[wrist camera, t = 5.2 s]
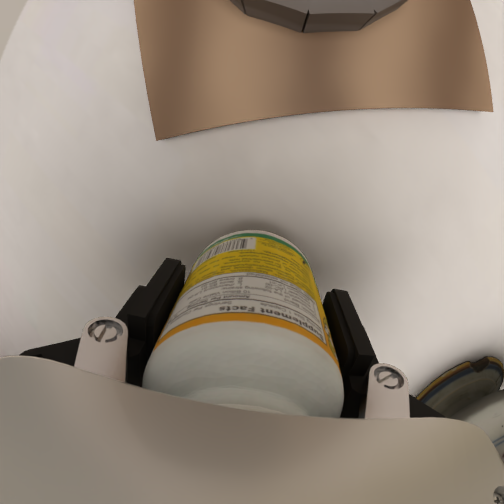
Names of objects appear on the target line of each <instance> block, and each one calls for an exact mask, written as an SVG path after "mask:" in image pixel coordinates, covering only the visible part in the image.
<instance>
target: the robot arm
mask: <svg viewBox="0 0 504 504" xmlns="http://www.w3.org/2000/svg"><path fill="white" fill-rule="evenodd" d="M185 268H186V267H185V265H181V261H180V260H175V259H170V258H166V259H165V261H164V262H163V264H162V265H161V266H160V268H159V269H158V270H157V272H156V273H155V275H154V276H153V277H152V279H151V280H150V282H149V283H148V284H147V286H141V285H140V286H138V287H137V289H136V290H135V291H134V293H133V294H132V295H131V297H130V298H129V300H128V301H127V302H126V304H125V305H124V306H123V308H122V309H121V311H120V312H119V313H118V315H117V316H116V318H113V317H98V318H94V319H92V320H90V321H89V322H88V323H86V324H85V326H84V328H83V331H82V335H81V338H78V339H74V340H70V341H65V342H61V343H57V344H52V345H48V346H43V347H39V348H34V349H30V350H27V351H25V352H23V353H21V354H20V355H19V356H5V357H1V358H0V504H504V463H503V461H502V459H501V457H500V455H499V453H498V452H497V450H496V448H495V446H494V445H493V443H492V442H491V440H490V439H489V437H488V436H487V434H486V433H485V432H484V431H483V430H482V429H481V428H479V427H477V426H475V425H473V424H471V423H468V422H464V421H461V420H456V419H449V418H446V417H445V416H444V415H442V414H440V413H439V412H437V411H436V410H434V409H432V408H431V407H429V406H428V405H426V404H424V403H423V402H421V401H420V400H418V399H416V398H415V397H413V396H412V395H410V394H409V389H408V380H407V377H406V376H405V374H404V373H403V372H402V371H401V370H400V369H398V368H396V367H395V366H392V365H390V364H385V363H379V362H378V360H377V358H376V355H375V353H374V350H373V348H372V345H371V343H370V341H369V338H368V336H367V334H366V331H365V329H364V327H363V325H362V324H361V321H360V319H359V317H358V314H357V312H356V310H355V308H354V305H353V303H352V301H351V299H350V296H349V294H348V292H347V291H343V290H337V289H333V290H332V291H331V292H327V293H326V296H325V299H324V302H323V309H324V312H325V316H326V319H327V323H328V328H329V330H330V334H331V338H332V342H333V345H334V349H335V352H336V356H337V359H338V363H339V368H340V372H341V376H342V381H343V388H344V402H343V408H342V412H341V415H340V418H333V417H316V416H303V415H292V414H282V413H273V412H265V411H257V410H250V409H243V408H236V407H230V406H224V405H219V404H213V403H208V402H203V401H198V400H193V399H188V398H183V397H179V396H174V395H170V394H166V393H162V392H158V391H154V390H150V389H146V388H142V382H143V375H144V371H145V368H146V365H147V363H148V360H149V358H150V356H151V353H152V351H153V349H154V347H155V345H156V342H157V340H158V338H159V336H160V334H161V332H162V330H163V328H164V326H165V324H166V322H167V320H168V317H169V315H170V313H171V311H172V309H173V307H174V305H175V303H176V301H177V299H178V297H179V295H180V293H181V290H182V288H183V286H184V279H185Z"/></svg>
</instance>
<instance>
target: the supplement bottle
mask: <svg viewBox="0 0 504 504" xmlns="http://www.w3.org/2000/svg"><path fill="white" fill-rule="evenodd" d="M142 388H146V389H150V390H154V391H158V392H162V393H166V394H170V395H174V396H179V397H183V398H188V399H193V400H198V401H203V402H208V403H213V404H219V405H224V406H230V407H236V408H243V409H250V410H257V411H265V412H273V413H282V414H292V415H303V416H316V417H333V418H340V415H341V412H342V408H343V402H344V388H343V381H342V376H341V372H340V368H339V363H338V359H337V356H336V352H335V349H334V345H333V342H332V338H331V334H330V330H329V328H328V323H327V319H326V316H325V312H324V309H323V305H322V302H321V299H320V296H319V292H318V288H317V285H316V282H315V279H314V276H313V274H312V270H311V268H310V265H309V263H308V261H307V259H306V257H305V256H304V254H303V253H302V252H301V251H300V250H299V249H298V248H297V247H296V246H295V245H294V244H293V243H291V242H290V241H288V240H287V239H285V238H283V237H281V236H279V235H276V234H274V233H271V232H267V231H261V230H243V231H237V232H233V233H230V234H227V235H225V236H222V237H220V238H218V239H217V240H215V241H214V242H212V243H211V244H210V245H209V246H208V247H207V248H205V249H204V251H203V252H202V253H201V254H200V256H199V257H198V258H197V260H196V262H195V264H194V265H193V267H192V270H191V272H190V274H189V276H188V278H187V280H186V282H185V284H184V286H183V288H182V290H181V293H180V295H179V297H178V299H177V301H176V303H175V305H174V307H173V309H172V311H171V313H170V315H169V317H168V320H167V322H166V324H165V326H164V328H163V330H162V332H161V334H160V336H159V338H158V340H157V342H156V345H155V347H154V349H153V351H152V353H151V356H150V358H149V360H148V363H147V365H146V368H145V371H144V375H143V382H142Z"/></svg>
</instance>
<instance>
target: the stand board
mask: <svg viewBox="0 0 504 504" xmlns="http://www.w3.org/2000/svg"><path fill="white" fill-rule="evenodd" d="M134 6H135V15H136V23H137V30H138V38H139V45H140V52H141V58H142V65H143V71H144V77H145V83H146V89H147V94H148V100H149V105H150V111H151V116H152V121H153V126H154V131H155V136H156V141H158V140H162V139H167V138H171V137H175V136H179V135H183V134H188V133H192V132H197V131H201V130H206V129H211V128H216V127H221V126H226V125H231V124H237V123H243V122H249V121H255V120H261V119H268V118H275V117H282V116H290V115H298V114H307V113H317V112H327V111H340V110H355V109H376V108H439V109H459V110H473V111H486V112H493V104H492V96H491V88H490V81H489V75H488V69H487V64H486V59H485V54H484V49H483V45H482V40H481V36H480V32H479V28H478V25H477V21H476V17H475V14H474V11H473V7H472V4H471V1H470V0H134Z"/></svg>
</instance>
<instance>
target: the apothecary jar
mask: <svg viewBox="0 0 504 504" xmlns="http://www.w3.org/2000/svg"><path fill="white" fill-rule="evenodd" d="M503 379H504V368H503V364H502V363H501V361H500V360H498V359H496V358H494V357H485V358H484V359H482V360H480V361H478V362H476V363H471V362H469V361H467V362H465V363H462V364H460V365H458V366H456V367H454V368H453V369H451V370H449V371H447V372H446V373H444V374H443V375H441V376H440V377H439V378H438V379H436V380H435V381H434V382H432V383H431V384H430V385H429V386H428V387H427V388H425V389H424V390H423V391H422V392H421V393H420V394H419V395H418V397H417V398H416V399H418V400H420V401H421V402H423V403H424V404H426V405H428V406H429V407H431V408H432V409H434V410H436V411H437V412H439V413H440V414H442V415H444V416H445V417H446V418H449V419H456V420H461V421H464V422H468V423H471V424H473V425H475V426H477V427H479V428H481V429H482V430H483V431H484V432H485V433H486V434H487V436H488V437H489V439H490V440H491V442H492V443H493V445H494V446H495V448H496V450H497V452H498V453H499V455H500V457H501V459H502V461H503V463H504V389H503V390H500V391H499V389H500V387H501V385H502V382H503Z"/></svg>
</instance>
